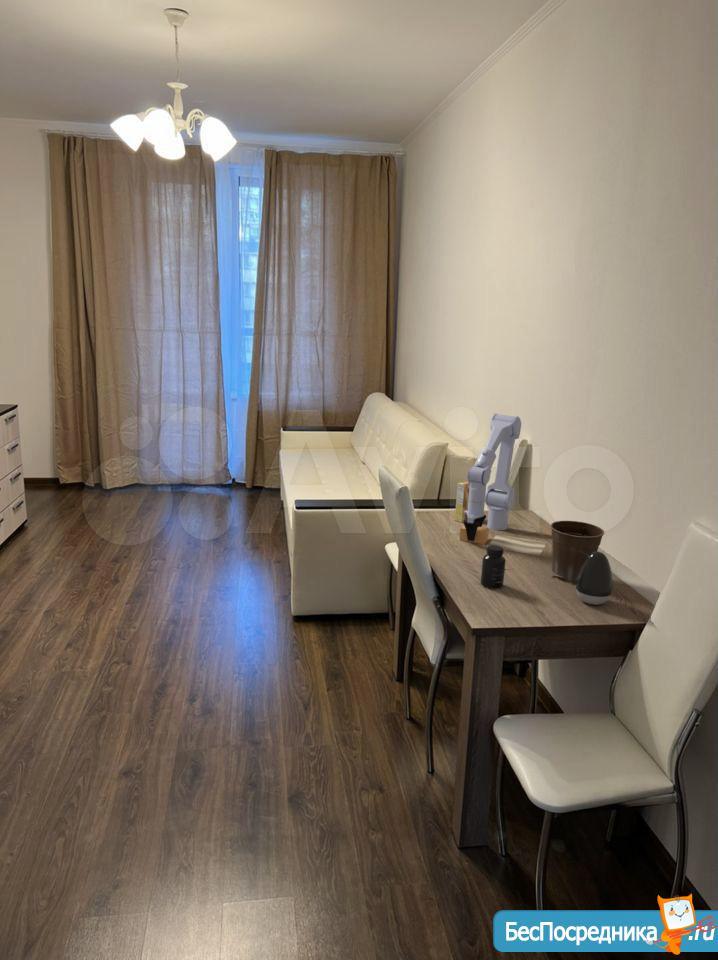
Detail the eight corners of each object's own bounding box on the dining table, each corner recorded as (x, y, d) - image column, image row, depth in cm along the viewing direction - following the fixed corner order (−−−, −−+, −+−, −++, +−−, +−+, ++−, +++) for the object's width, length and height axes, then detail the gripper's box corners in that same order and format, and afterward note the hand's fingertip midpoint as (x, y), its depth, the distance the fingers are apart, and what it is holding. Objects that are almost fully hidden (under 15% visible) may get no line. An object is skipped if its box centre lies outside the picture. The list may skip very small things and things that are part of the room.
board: (496, 538, 268) (496, 534, 268) (546, 546, 262) (547, 542, 261) (486, 550, 254) (486, 546, 254) (539, 559, 247) (539, 555, 247)
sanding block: (462, 540, 264) (464, 524, 263) (487, 544, 261) (488, 528, 260) (459, 544, 260) (460, 528, 259) (484, 548, 257) (485, 532, 255)
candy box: (469, 517, 294) (472, 479, 290) (477, 519, 291) (480, 482, 287) (454, 520, 288) (457, 482, 285) (462, 523, 285) (465, 484, 282)
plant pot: (601, 588, 224) (607, 538, 220) (546, 583, 226) (552, 533, 223) (594, 570, 239) (600, 523, 236) (543, 565, 242) (549, 518, 238)
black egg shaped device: (577, 591, 221) (583, 543, 217) (613, 599, 216) (620, 550, 212) (569, 603, 212) (575, 553, 208) (606, 611, 207) (613, 560, 203)
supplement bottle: (476, 582, 224) (479, 544, 222) (495, 580, 227) (498, 543, 224) (488, 590, 218) (491, 552, 215) (507, 588, 221) (511, 550, 218)
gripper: (470, 494, 265) (467, 530, 268) (460, 503, 252) (456, 541, 255) (490, 497, 262) (486, 533, 265) (480, 506, 249) (476, 544, 252)
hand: (473, 537), depth 260 cm, fingers open, 7 cm apart
